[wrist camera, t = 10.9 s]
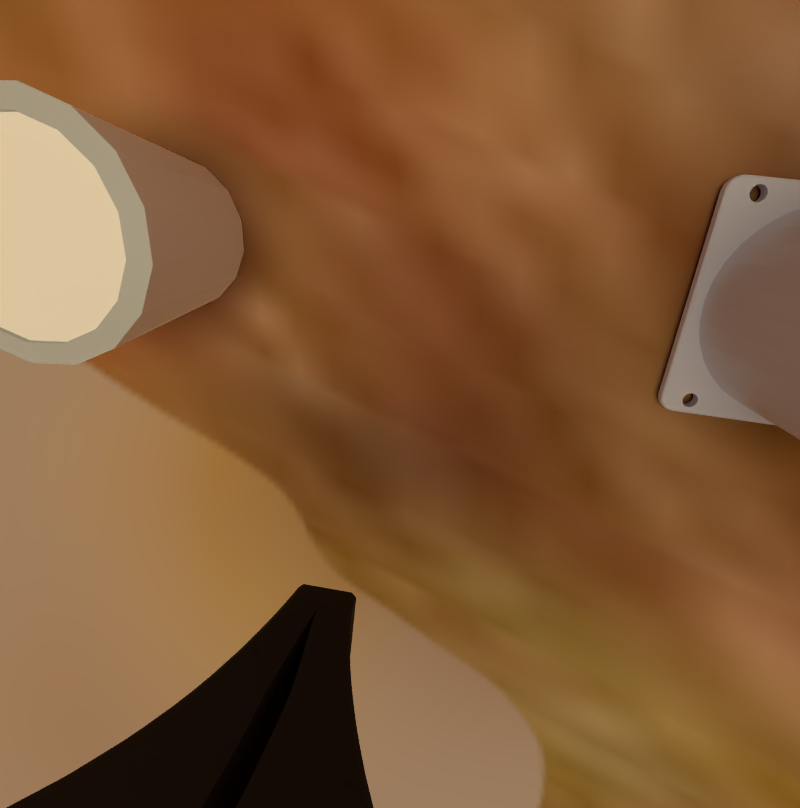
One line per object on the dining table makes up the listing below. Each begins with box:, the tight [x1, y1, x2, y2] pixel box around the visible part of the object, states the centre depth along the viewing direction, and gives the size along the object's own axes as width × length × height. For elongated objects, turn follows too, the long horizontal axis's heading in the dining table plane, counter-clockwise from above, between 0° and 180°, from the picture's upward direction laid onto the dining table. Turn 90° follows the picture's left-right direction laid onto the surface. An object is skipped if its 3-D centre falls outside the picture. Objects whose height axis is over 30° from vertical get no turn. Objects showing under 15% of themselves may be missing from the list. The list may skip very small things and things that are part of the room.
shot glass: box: [0, 80, 244, 365], centre depth 16 cm, size 7×7×7 cm
